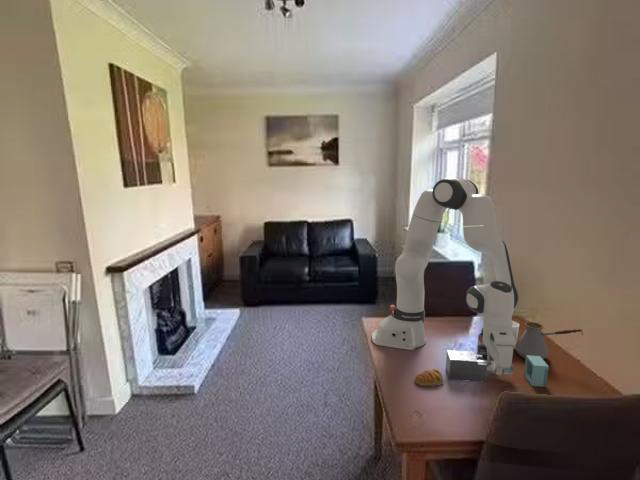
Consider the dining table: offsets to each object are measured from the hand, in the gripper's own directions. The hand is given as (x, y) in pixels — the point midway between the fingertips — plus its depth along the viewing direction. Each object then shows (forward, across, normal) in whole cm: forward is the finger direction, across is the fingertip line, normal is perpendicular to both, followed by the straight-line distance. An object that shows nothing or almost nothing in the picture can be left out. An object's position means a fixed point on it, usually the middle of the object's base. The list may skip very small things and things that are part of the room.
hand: (494, 367), depth 137 cm
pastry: (+4, +6, -22) cm, 23 cm away
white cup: (+4, -26, +12) cm, 29 cm away
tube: (+2, 0, -4) cm, 5 cm away
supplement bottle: (+4, -15, +1) cm, 15 cm away
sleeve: (+4, 0, -9) cm, 10 cm away
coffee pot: (+4, -16, +23) cm, 28 cm away
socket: (+4, 0, +14) cm, 14 cm away
